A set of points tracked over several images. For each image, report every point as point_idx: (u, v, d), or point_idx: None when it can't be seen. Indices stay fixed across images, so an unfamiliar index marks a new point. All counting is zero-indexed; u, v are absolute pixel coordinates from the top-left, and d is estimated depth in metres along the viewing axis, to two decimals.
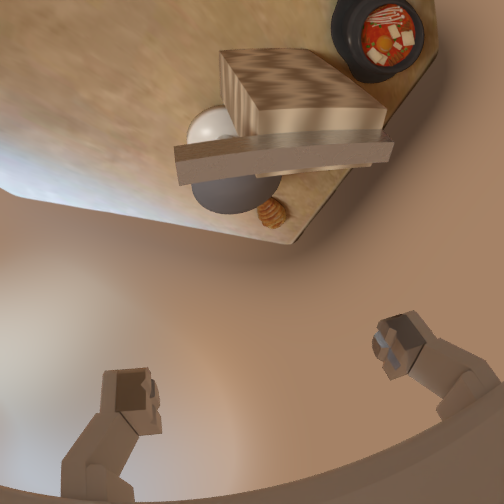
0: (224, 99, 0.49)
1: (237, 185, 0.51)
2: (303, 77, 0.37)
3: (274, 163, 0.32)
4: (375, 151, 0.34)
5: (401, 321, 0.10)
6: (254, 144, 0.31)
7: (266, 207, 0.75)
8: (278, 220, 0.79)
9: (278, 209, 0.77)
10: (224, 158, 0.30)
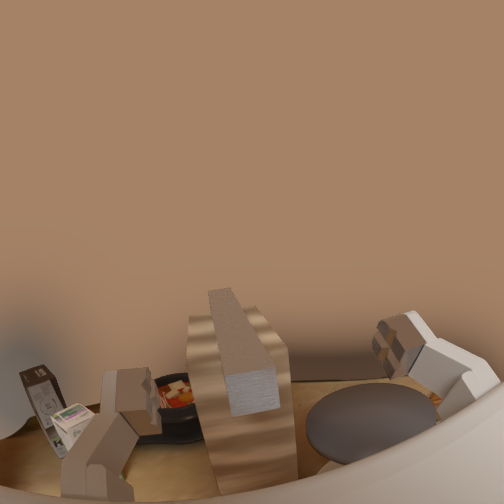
0: None
1: (380, 413, 0.30)
2: None
3: (235, 321, 0.27)
4: (218, 293, 0.39)
5: (401, 321, 0.10)
6: None
7: None
8: None
9: (433, 397, 0.46)
10: (224, 345, 0.22)
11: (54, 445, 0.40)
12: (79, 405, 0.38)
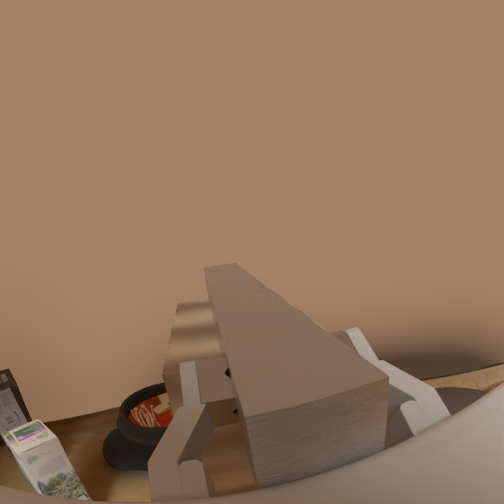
0: None
1: None
2: None
3: (250, 295, 0.15)
4: (219, 268, 0.27)
5: (339, 339, 0.10)
6: (219, 337, 0.13)
7: None
8: None
9: None
10: (235, 333, 0.10)
11: (20, 467, 0.28)
12: (38, 422, 0.25)
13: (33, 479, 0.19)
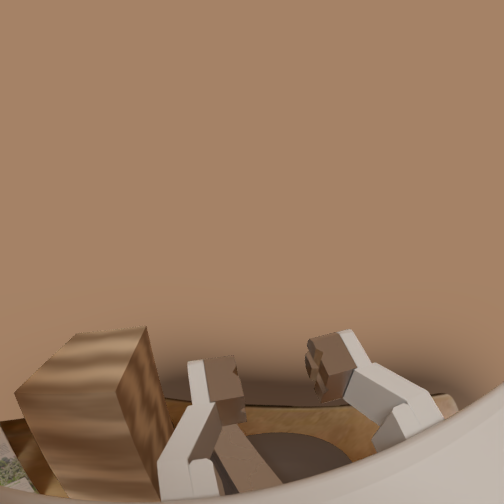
0: None
1: None
2: None
3: None
4: None
5: (331, 341, 0.10)
6: None
7: None
8: None
9: None
10: None
11: None
12: None
13: None
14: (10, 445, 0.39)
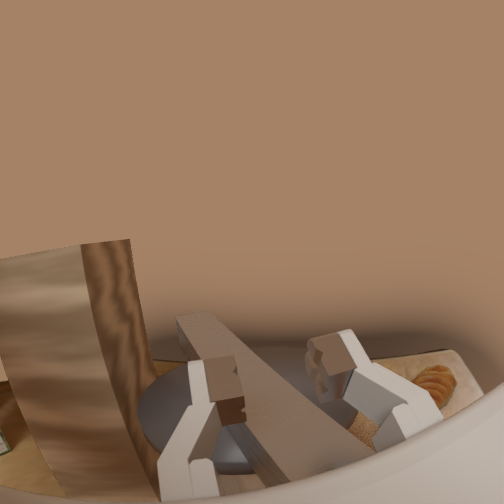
0: (147, 501, 0.19)
1: None
2: None
3: (273, 396, 0.13)
4: (196, 323, 0.24)
5: (331, 341, 0.10)
6: (255, 452, 0.11)
7: None
8: (429, 373, 0.36)
9: None
10: None
11: None
12: None
13: None
14: None
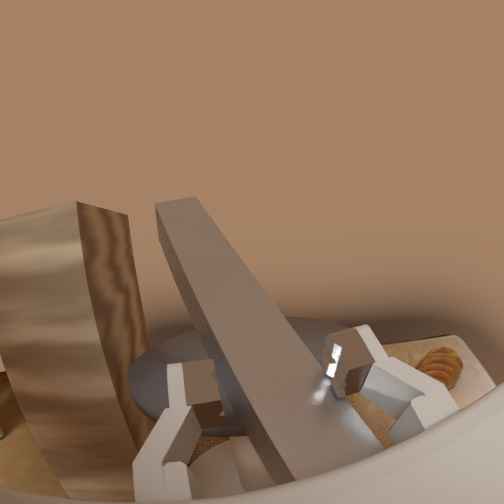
0: None
1: None
2: None
3: (286, 364, 0.11)
4: (180, 216, 0.20)
5: (349, 336, 0.10)
6: (260, 438, 0.10)
7: None
8: (435, 354, 0.35)
9: (421, 368, 0.35)
10: None
11: None
12: None
13: None
14: None
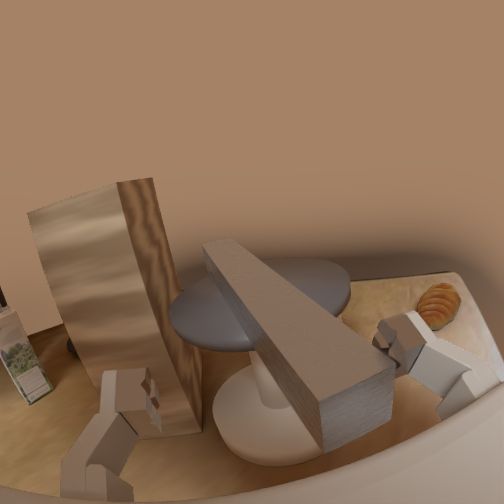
0: (179, 405, 0.28)
1: None
2: None
3: (267, 284, 0.19)
4: (218, 246, 0.30)
5: (401, 321, 0.10)
6: (250, 325, 0.17)
7: (432, 312, 0.37)
8: (435, 289, 0.41)
9: (422, 302, 0.41)
10: (277, 330, 0.13)
11: None
12: (7, 306, 0.37)
13: None
14: None
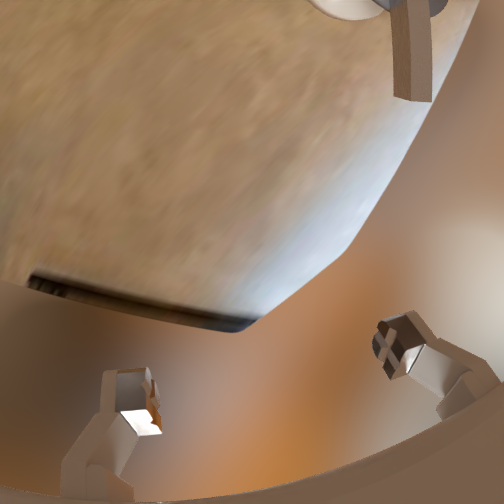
0: None
1: None
2: None
3: (421, 10, 0.20)
4: None
5: (401, 321, 0.10)
6: (401, 24, 0.22)
7: None
8: None
9: None
10: (414, 55, 0.23)
11: None
12: None
13: None
14: None
